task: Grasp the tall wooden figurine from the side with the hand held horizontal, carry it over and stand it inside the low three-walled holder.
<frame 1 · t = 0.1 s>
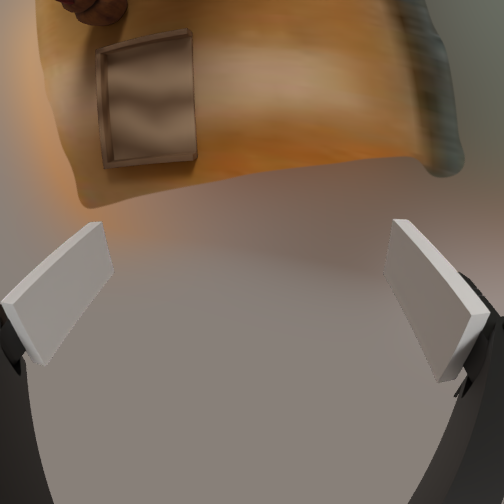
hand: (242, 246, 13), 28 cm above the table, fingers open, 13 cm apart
holder: (147, 99, 35), on the table
wooden figurine: (115, 10, 28), on the table
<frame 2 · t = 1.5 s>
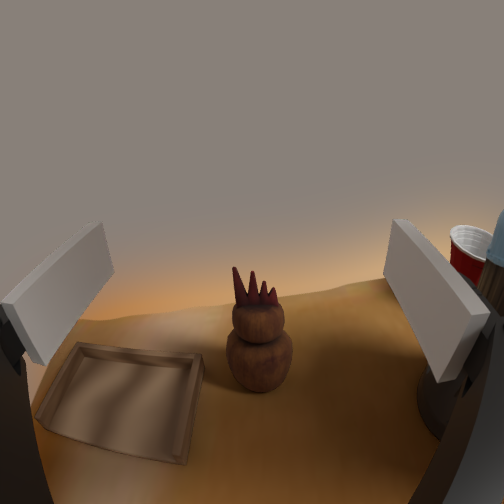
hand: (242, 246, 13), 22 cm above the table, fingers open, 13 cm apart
plastic cup: (459, 306, 40), on the table
holder: (122, 402, 29), on the table
wooden figurine: (260, 380, 32), on the table
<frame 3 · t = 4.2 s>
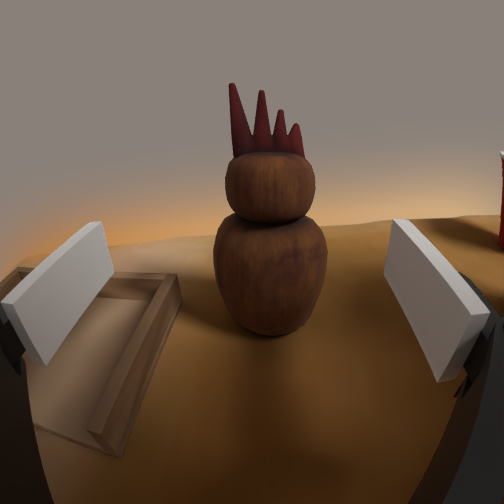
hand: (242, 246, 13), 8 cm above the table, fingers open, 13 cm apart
holder: (50, 345, 17), on the table
wooden figurine: (269, 320, 21), on the table
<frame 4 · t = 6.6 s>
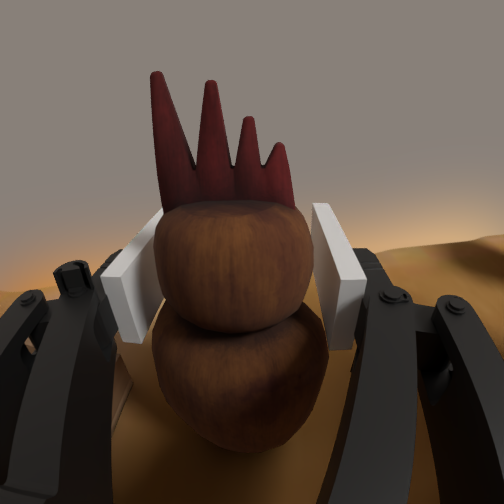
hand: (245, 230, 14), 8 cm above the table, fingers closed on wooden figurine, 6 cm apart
wooden figurine: (244, 420, 14), on the table, touching gripper
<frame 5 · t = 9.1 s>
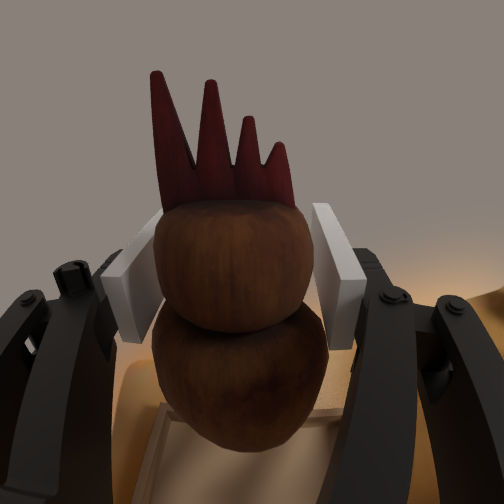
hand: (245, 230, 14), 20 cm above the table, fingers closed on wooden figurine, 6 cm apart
holder: (252, 484, 19), on the table
wooden figurine: (244, 420, 14), point 12 cm above the table, touching gripper
when the fingers open (9 cm above the table, at t = 12.0 s): wooden figurine stays where it is, resting on holder.
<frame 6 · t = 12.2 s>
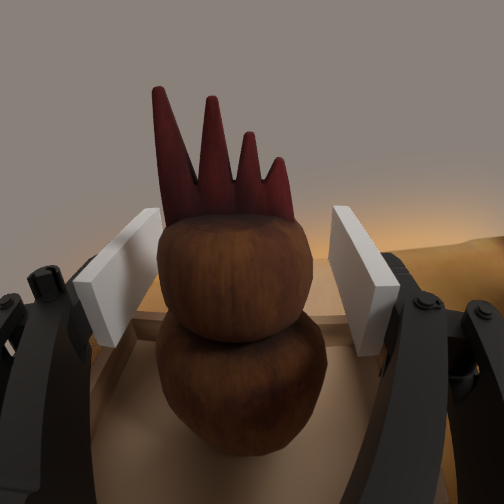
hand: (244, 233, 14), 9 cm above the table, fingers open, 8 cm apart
holder: (245, 427, 14), on the table
wooden figurine: (245, 424, 14), resting on holder
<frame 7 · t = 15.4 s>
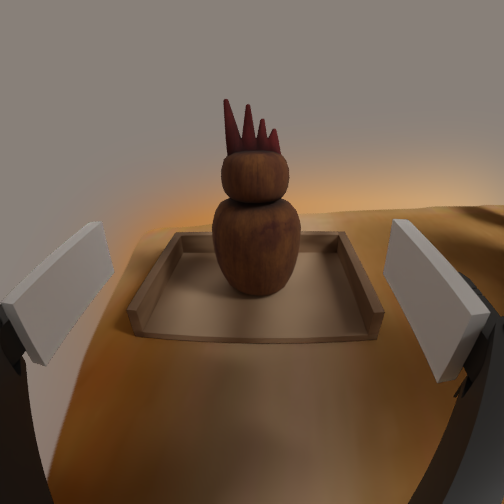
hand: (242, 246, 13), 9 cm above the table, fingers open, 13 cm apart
holder: (257, 289, 26), on the table
wooden figurine: (257, 286, 26), resting on holder
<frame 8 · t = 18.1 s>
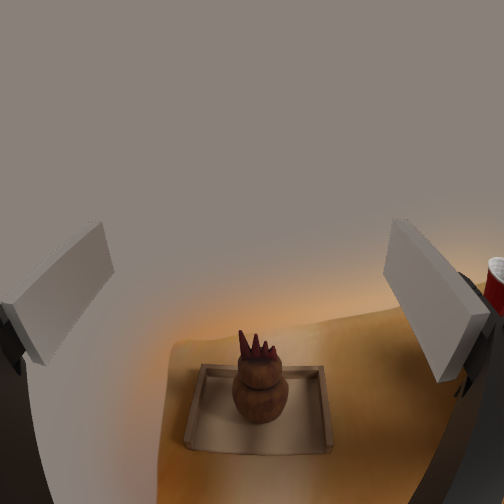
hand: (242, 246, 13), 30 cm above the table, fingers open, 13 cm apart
plastic cup: (489, 319, 47), on the table
holder: (260, 413, 36), on the table
wooden figurine: (260, 412, 36), resting on holder
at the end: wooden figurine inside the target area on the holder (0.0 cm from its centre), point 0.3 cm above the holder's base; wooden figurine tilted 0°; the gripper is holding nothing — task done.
